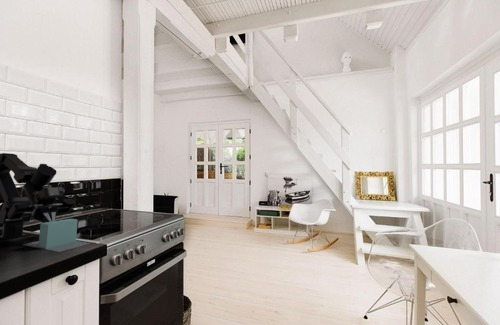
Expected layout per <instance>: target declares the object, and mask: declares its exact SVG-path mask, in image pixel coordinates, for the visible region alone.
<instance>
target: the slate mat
mask: <svg viewBox="0 0 500 325" xmlns="http://www.w3.org/2000/svg"><path fill="white" fill-rule="evenodd" d="M89 244H90V245H91V243H90V242H85V241H80V240H79V241H78V240H76V241H75V242H71V243H67V244H63V245H59V246H55V247H51V248H47V249H46V248H41V247H39V240H37V241H32V242H27V243H22V244H21V245H22V246H27V247H32V248H37V249H41V250H47V251H51V252H56V253H57V252H58V253H60V252H64V251H67V250H71V249H75V248H79V247H82V246H86V245H89Z"/></svg>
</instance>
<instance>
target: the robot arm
mask: <svg viewBox="0 0 500 325" xmlns="http://www.w3.org/2000/svg"><path fill="white" fill-rule="evenodd" d="M10 172H12V173H13V177H12V175H11V173H10ZM57 173H58V172H57V170H56V169H55V168H54V167H52V166H49V165H48V164H47V163H40V164H39V165H38V167H34V166H30V165H28V164H26V163H25V162H24V161H23V160H22V159H20V157H18V155H17V154H15V153H6V152H2V153H0V195H1V197H2V200H3V202H4V204H3V205H2V207H1V208H0V224H3V227H2V235H0V239H2V240H9V239H16V238H22V237H26V236H28V234H27V233H23V232H24V225H25V224H24V221H30V220H32V219H33V220H36V221H39V222H41V223H46V222H53V221H56V214H57V213H58V214H59V215H60V214H61V215H62V214H69V213H70V212H71V211H72V209H73V208H74V207H75V206H76V202H75V200H74V199H61V201H60V202H59V203H55V202H56V201H57V198H58V197H61V196H63V195H65V193H66V192H65V188H64V187H63V186H56V187H45V186H49V185H50V183H51V181H53V179H54V177H55V176H56V175H57ZM14 181H15V182H16V183H17V184H24V185H23V186H22V187H23V188H22V191H21V194H25V195H26V196H21V194H20V193H19V190H18V188H17V185H16V184H15V182H14Z"/></svg>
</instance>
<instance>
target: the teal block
mask: <svg viewBox="0 0 500 325" xmlns="http://www.w3.org/2000/svg"><path fill="white" fill-rule="evenodd" d="M78 221H79V219H75V218H68V219H67V218H66V219H61V220H55V221H53V222H46V223H42V222H41V223H40V226H39V227H40V228H39V237H38V241H39V247H41V248H40V249H42V248H46V249H45V250H47V248H51V247H55V246H59V245H63V244H67V243H71V242H75V241H77V233H78V232H77V230H78Z"/></svg>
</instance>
